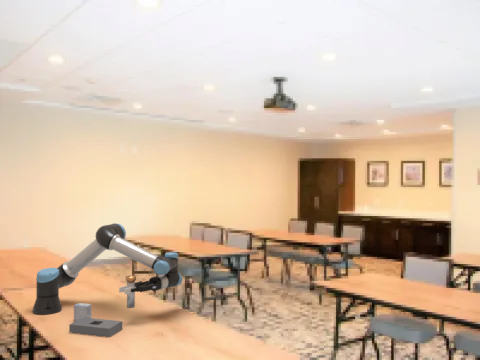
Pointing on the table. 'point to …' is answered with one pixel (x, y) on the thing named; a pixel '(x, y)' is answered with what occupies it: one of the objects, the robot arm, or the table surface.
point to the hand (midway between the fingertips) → (122, 290)
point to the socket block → (96, 327)
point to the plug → (131, 296)
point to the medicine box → (82, 311)
